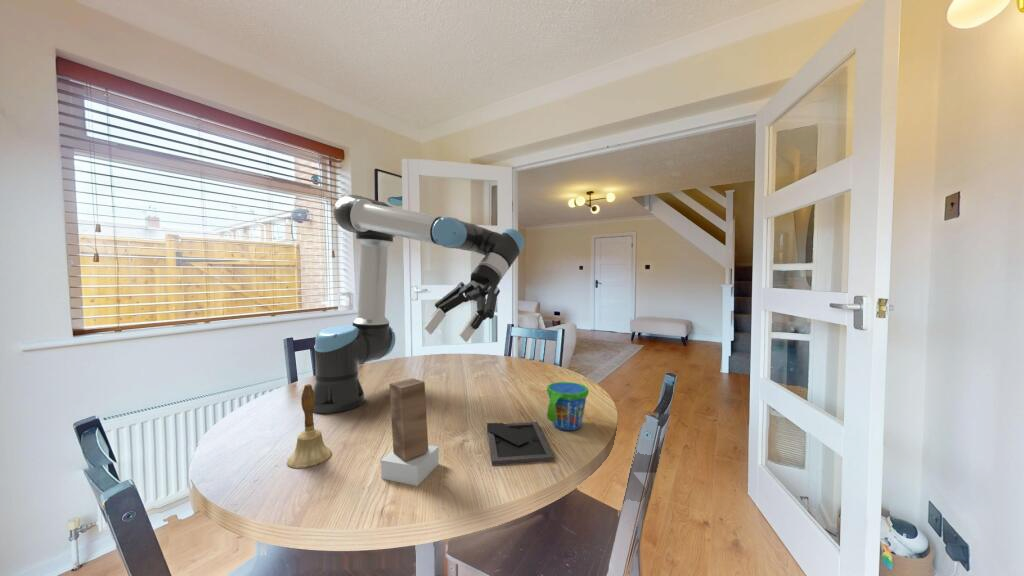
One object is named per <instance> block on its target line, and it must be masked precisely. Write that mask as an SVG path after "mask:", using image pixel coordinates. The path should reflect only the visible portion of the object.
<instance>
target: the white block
mask: <svg viewBox="0 0 1024 576" xmlns="http://www.w3.org/2000/svg"><path fill="white" fill-rule="evenodd" d="M439 452H440V451H439V446H436V445H430V444H428V452H426V453H424V454H421V455H419V456H417V457H414V458H412V459H410V460H407V461H404V460H403V459H401V458H400V457H398V456H397V455H395V454H394V453H393V450H392V451H391V452H389V454H387V455H386V456H384V457H383V458H382V459H381V460H380V476H381V477H380V479H382V480H385V481H387V480H388V481H391V482H392V481H393V482H398V483H401V484H406V485H411V486H416V487H418V486H419V485H420V484H421V483H422V482H423V481H424V480H425V479H426V478H427V477H428V476H429V474H431V472H432V471H434V470H435V469H436V468H437V466H438V465H439V463H440V462H439V458H440V457H439V456H440V455H439Z"/></svg>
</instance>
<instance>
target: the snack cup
mask: <svg viewBox="0 0 1024 576" xmlns="http://www.w3.org/2000/svg"><path fill="white" fill-rule="evenodd" d="M546 392H547V394H548V398H549V401H548V406H547V413H546V417H547V419H548V421H550V422H552V424H553V425H554V427H556V428H557V429H559V430H563V431H576V430H578V429H580V428H581V427H582V425H583V419H584V414H585V407H586V406H585V405H586V400H587V399H586V398H587V397H588V395H589V392H590V391H589V388H588V387H587V386H586V385H583V384H580V383H577V382H571V381H570V382H569V381H560V382H553V383H550V384H549V385H547V387H546Z"/></svg>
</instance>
